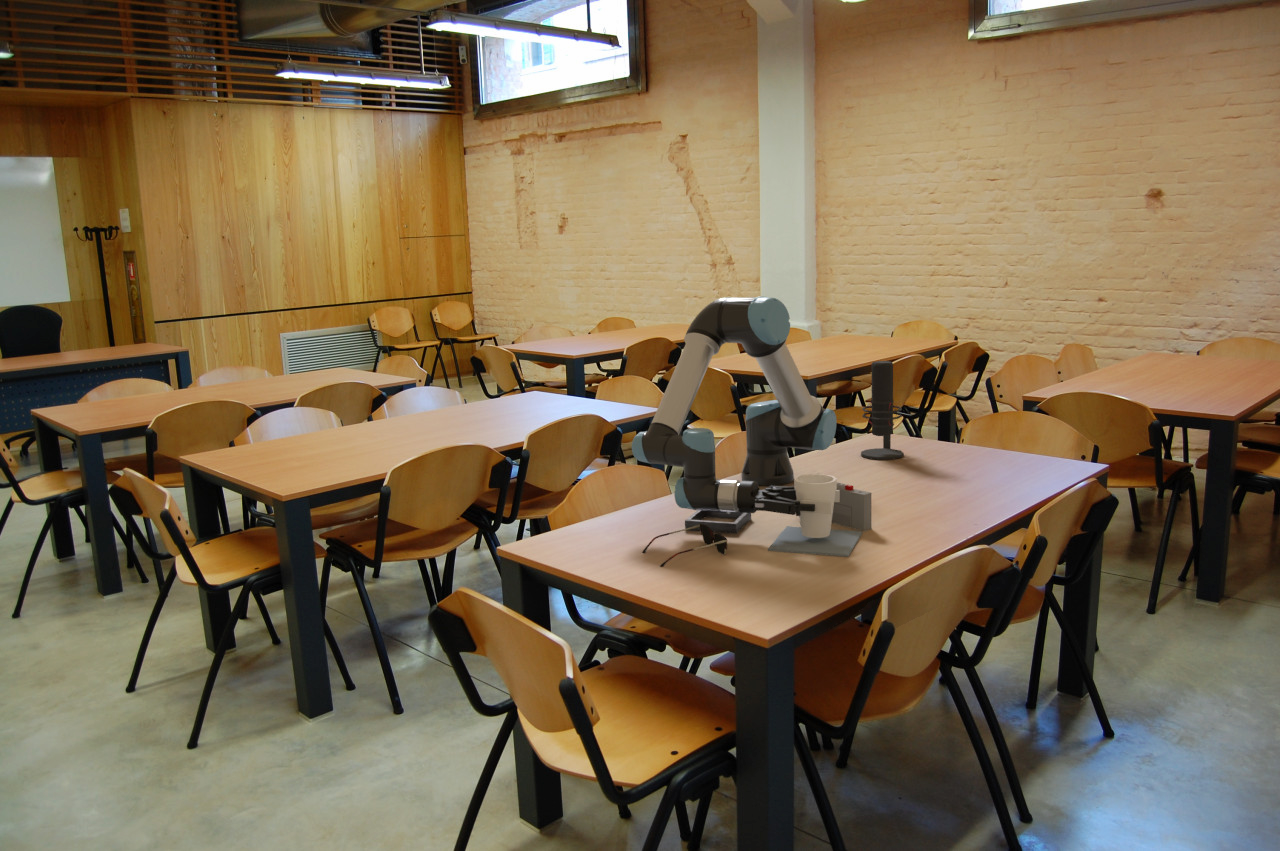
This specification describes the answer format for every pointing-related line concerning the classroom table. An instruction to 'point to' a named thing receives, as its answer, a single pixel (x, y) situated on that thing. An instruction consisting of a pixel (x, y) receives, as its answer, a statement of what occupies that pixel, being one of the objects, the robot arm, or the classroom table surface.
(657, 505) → the classroom table surface
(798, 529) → the rubber mat
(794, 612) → the classroom table surface
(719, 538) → the sunglasses
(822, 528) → the foam cup
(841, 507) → the cassette player
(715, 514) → the holder collar
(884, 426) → the microphone
